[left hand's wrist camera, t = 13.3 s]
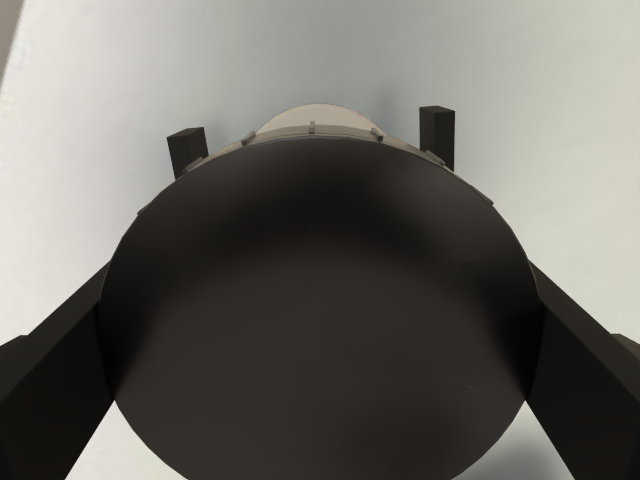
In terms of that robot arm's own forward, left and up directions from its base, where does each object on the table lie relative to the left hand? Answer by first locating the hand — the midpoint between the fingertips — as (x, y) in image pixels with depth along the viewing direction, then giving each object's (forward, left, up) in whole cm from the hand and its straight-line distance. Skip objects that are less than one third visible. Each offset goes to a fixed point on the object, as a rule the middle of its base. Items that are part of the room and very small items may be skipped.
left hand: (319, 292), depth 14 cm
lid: (0, 0, +3) cm, 3 cm away
